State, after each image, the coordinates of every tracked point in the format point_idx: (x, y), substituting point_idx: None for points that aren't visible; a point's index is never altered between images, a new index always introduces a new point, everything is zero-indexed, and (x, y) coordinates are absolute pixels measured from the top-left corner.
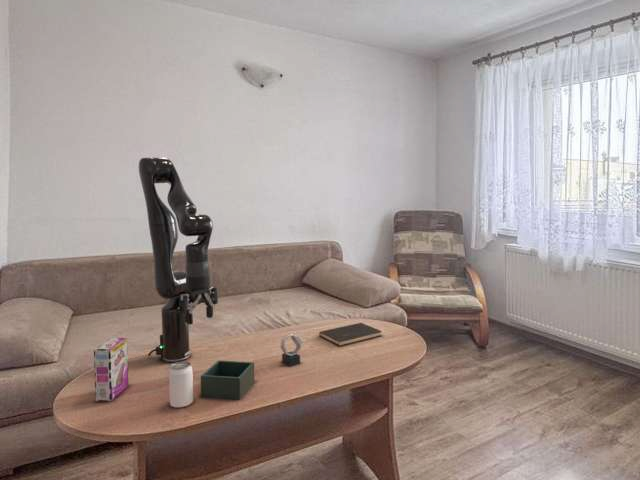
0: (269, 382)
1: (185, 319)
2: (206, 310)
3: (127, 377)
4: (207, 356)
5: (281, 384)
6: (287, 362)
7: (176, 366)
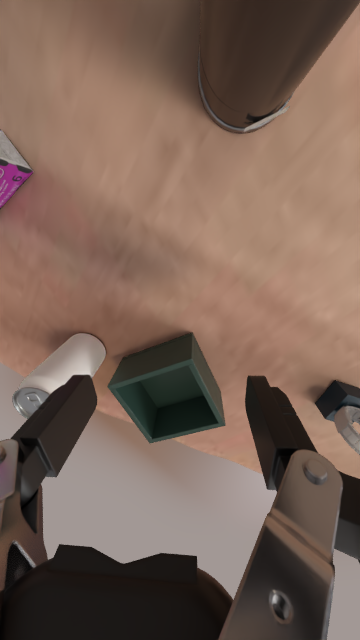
0: (231, 410)
1: (43, 402)
2: (263, 415)
3: (11, 169)
4: (305, 177)
5: (233, 427)
6: (324, 400)
7: (29, 400)
